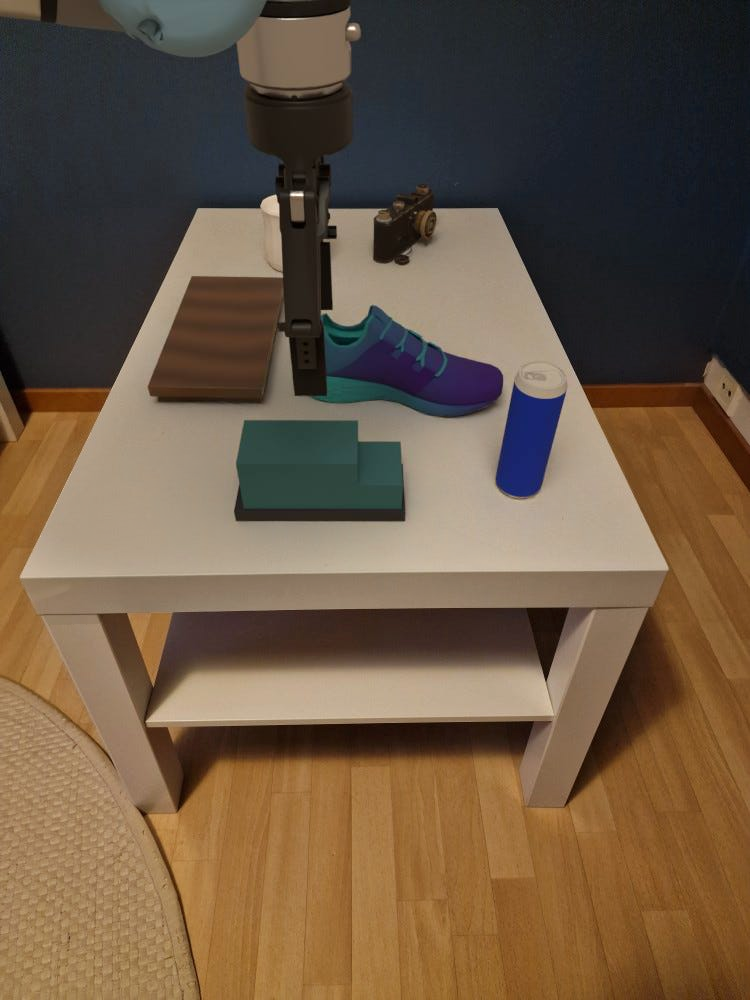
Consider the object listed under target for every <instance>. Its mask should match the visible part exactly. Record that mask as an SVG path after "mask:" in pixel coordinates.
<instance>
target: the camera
mask: <svg viewBox="0 0 750 1000" xmlns="http://www.w3.org/2000/svg"><path fill="white" fill-rule="evenodd" d="M434 196H435V191H434V189H432V188H430V187H429V185H428V184H425V183H420V184H417V185H416V189H415V190H412V192H410V193H397V194H396V196H395V199H396V201H393V202H392V205H391V206H389V207H388V208H386V209H379V210H378V211H377V215H375V216H374V217H373V250H372V251H373V255H372V259H373V261H375V262H377V263H378V264H388V263H391V262H392V261H393V260H394V263H395V264H397V265H400V266H403V265H407V264H408V263H409V262H410V257H409V256H408V255H409V254H410V253H411V252H412V250H413V245H414V244H416V243H418V242H419V241H420V240H421V239H423V238H424V239H429V238H431V237H432V235H433V234H434V231H435V230H436V227H437V221H438V220H437V214H436V212H435V211H434V198H435V197H434ZM409 248H410V250H409V252H407V253H406V254H404V252H405V251H407V250H408V249H409Z"/></svg>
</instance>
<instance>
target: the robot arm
mask: <svg viewBox="0 0 750 1000" xmlns="http://www.w3.org/2000/svg"><path fill="white" fill-rule="evenodd" d="M351 1H352V0H0V17H1V18H8V19H9V18H10V19H19V20H27V21H28V20H29V21H38V22H41V23H47V24H48V23H50V24H56V25H61V26H66V27H75V28H84V29H94V30H104V31H113V32H121V33H125V34H126V35H127V36H129V37H130V38H132V39H133V40H135V41H137V42H139V43H141V44H143V45H146V46H148V47H150V48H151V49H152V50H153V49H154V50H157V51H161V52H163V53H166V54H169V55H173V56H177V57H185V58H201V57H203V58H205V57H209V56H212V55H216V54H218V53H220V52H223V51H225V50H227V49H229V48H230V47H232V46H233V45H235V44H236V50H237V58H238V59H237V60H238V67H239V75H240V76H241V78H242V79H243V80H244V81H245V82H247V83H248V84H246V85H245V88H244V90H243V91H242V92H243V93H242V95H243V100H244V102H243V103H244V111H245V120H246V127H247V128H246V129H247V136H248V141H249V143H250V145H252V147H253V148H254V149H255V150H257V151H258V152H260V153H261V154H264V155H267V156H274V157H276V158H278V159H279V160H281V161H282V162H279V163H278V167H277V168H278V170H277V171H278V172H277V173H278V175H276V176H275V180H274V181H275V195H276V196H277V202H278V203H279V227H280V232H281V241H282V266H283V272H282V277H283V290H284V292H283V311H284V313H283V314H284V321H283V322H282V321H281V322H280V321H279V322H277V332H279V333H284V336H285V338H288V343H289V354H290V355H289V356H290V365H291V377H292V385H293V395H294V397H313V396H327V376H326V358H325V339H324V322H323V320H321V315H322V311H333V307H334V302H333V279H332V257H331V254H332V253H331V241H326V242H323V239H326V240H337V239H338V229H337V228H338V227H337V225H329V224H330V220H331V213H330V212H329V211H330V209H329V203H330V202H331V201H330V200H331V186H332V166H331V165H332V164H331V163H329V162H328V163H327V162H326V159H325V158H326V157H325V156H326V155H327V156H332V155H335V154H337V153H340V152H342V151H343V150H345V149H346V148H348V146H350V144H351V142H352V141H353V138H354V98H353V97H354V95H353V94H354V91H353V88H352V87H351V85H350V84H349V82H348V81H347V79H348V78H349V77H350V75H351V74H352V70H353V69H352V46H351V43H350V42H356V41H359V40H360V39H361V37H362V30H361V27H360V23H357V22H350V23H349V20H350V18H351V15H352V13H351V3H352V2H351Z"/></svg>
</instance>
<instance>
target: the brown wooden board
mask: <svg viewBox="0 0 750 1000" xmlns="http://www.w3.org/2000/svg"><path fill="white" fill-rule="evenodd" d="M283 298H284V290H283V276H281V277H280V276H279V277H277V276H275V277H273V276H222V275H221V276H219V275H218V276H217V275H216V276H215V275H212V276H211V275H210V276H209V275H191V277H190V279H189V282H188V284H187V285H186V289H185V292H184V294H183V297H182V299H181V302H180V304H179V307H178V309H177V312H176V314H175V316H174V319H173V322H172V324H171V327H170V329H169V331H168V335H167V337H166V339H165V342H164V344H163V347H162V348H161V349H162V350H161V351H160V355H159V357H158V359H157V362H156V364H155V367H154V368H153V372H152V375H151V377H150V379H149V382H148V384H147V390H148V393H149V397H157V401H158V402H187V403H189V402H190V403H192V402H193V403H194V402H196V403H197V402H198V403H257V404H258V403H259V404H260V403H261V402H262V399H263V398H264V397H263V396H264V392H265V387H266V382H267V377H268V372H269V367H270V361H271V356H272V352H273V346H274V342H275V337H276V332H277V328H278V323H277V322H278V321H279V317H280V312H281V307H282V303H283V302H282V301H283Z"/></svg>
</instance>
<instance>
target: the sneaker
mask: <svg viewBox="0 0 750 1000" xmlns="http://www.w3.org/2000/svg"><path fill="white" fill-rule="evenodd" d="M321 320H323V322H324V339H325V358H326V376H327V396H312V398H314V399H317V400H319V401H325V402H329V403H337V404H339V403H341V404H347V403H357V402H365V401H366V402H367V401H375V400H376V401H378V400H383V401H389V402H395V403H399V404H402V405H404V406H407V407H408V408H411V409H413V410H414V411H415V410H416V411H418V412H420V413H423V414H425V415H427V416H435V417H436V416H438V417H446V418H447V417H448V418H453V417H458V416H463V415H467V414H470V413H473V412H477V411H479V410H482V409H484V408H486V407H488V406H490V405H492V404H493V403H494V402H496V401H498V399H499V398H500V396H501V395H502V394H503V389H504V374H503V373H502V371H501V369H500V368H499V367H497V366H496V365H493V364H491V363H487V362H482V361H478V360H474V359H470V358H466V357H462V356H458V355H455V354H453V353H450V352H446V351H444V350H443V349H442V347H441V346H438V345H437V344H435V343H433V342H432V341H426V340H424V338H423V336H422V335H420V334H419V333H417V332H415V331H413V330H412V329H408V328H406V327H405V326H403V324H401V323H399V322H397V321H395V320H394V319H393V317H392V316H389V315H388V314H387V313H386V312H385V311H384V310H383V309H382V308H380V307H379V306H377V305H374V304H371V305H369V308H368V313H367V316H365V317H364V318H363V319H362V320H361V321H360V322H359V323H357V324H354V325H348V326H347V325H344V324H343V325H342V324H340V323H337V322H335V321H333V319H332V318H331V317H330V315H329V314H328V313H321Z"/></svg>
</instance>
